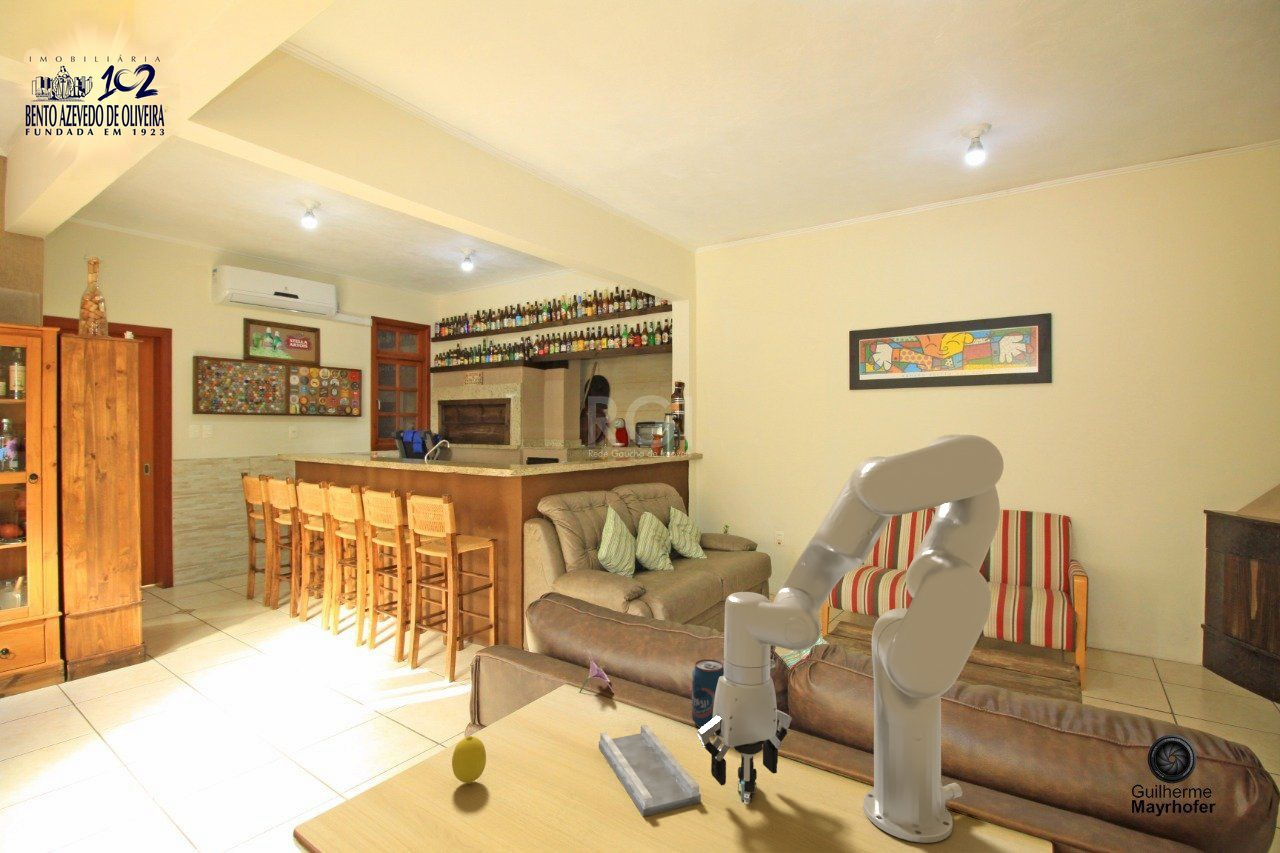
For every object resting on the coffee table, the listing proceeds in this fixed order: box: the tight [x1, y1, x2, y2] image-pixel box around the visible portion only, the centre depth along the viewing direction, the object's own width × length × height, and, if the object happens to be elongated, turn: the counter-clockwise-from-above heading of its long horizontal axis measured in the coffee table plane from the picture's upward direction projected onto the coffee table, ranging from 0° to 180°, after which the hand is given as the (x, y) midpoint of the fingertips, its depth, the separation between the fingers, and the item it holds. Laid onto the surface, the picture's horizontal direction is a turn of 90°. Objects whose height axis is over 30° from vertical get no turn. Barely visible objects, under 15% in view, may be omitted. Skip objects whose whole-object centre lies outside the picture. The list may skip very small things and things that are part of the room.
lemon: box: [451, 735, 487, 785], centre depth 101 cm, size 6×6×8 cm
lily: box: [579, 644, 615, 694], centre depth 139 cm, size 12×12×10 cm
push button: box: [733, 740, 765, 805], centre depth 99 cm, size 7×5×10 cm
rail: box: [598, 724, 702, 818], centre depth 105 cm, size 10×22×3 cm, turn 22°
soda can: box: [691, 658, 724, 729], centre depth 123 cm, size 7×7×12 cm
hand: (744, 774), depth 99 cm, fingers open, 9 cm apart
